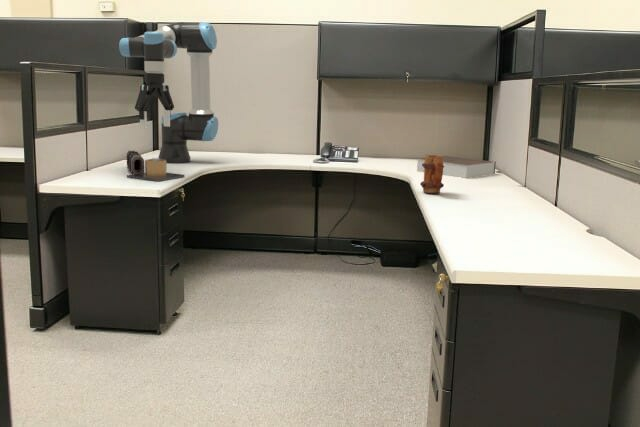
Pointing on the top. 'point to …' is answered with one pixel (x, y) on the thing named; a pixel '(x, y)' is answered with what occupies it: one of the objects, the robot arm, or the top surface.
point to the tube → (135, 162)
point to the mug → (432, 174)
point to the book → (462, 167)
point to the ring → (155, 168)
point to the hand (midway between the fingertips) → (155, 127)
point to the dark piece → (153, 178)
